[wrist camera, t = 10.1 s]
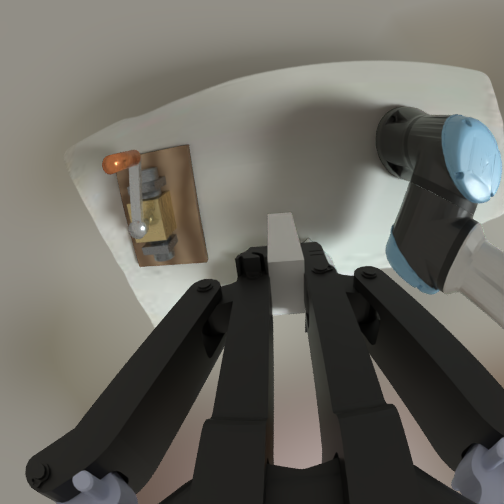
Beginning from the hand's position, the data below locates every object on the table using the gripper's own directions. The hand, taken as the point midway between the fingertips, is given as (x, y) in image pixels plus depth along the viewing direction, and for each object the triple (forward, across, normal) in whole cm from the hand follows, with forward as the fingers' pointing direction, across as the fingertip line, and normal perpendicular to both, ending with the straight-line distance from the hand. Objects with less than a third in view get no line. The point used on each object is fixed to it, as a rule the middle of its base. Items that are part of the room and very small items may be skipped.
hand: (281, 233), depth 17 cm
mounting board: (+34, -23, -6) cm, 42 cm away
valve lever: (+24, -22, 0) cm, 33 cm away
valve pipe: (+33, -23, -6) cm, 41 cm away
